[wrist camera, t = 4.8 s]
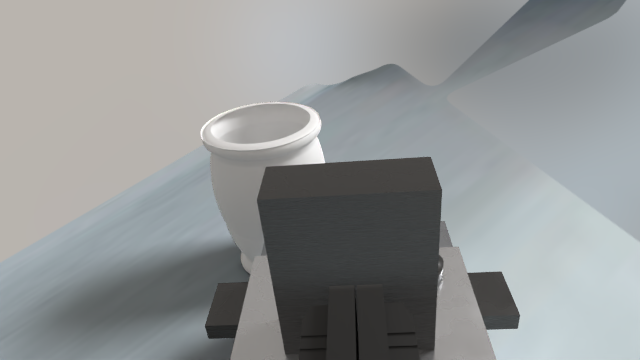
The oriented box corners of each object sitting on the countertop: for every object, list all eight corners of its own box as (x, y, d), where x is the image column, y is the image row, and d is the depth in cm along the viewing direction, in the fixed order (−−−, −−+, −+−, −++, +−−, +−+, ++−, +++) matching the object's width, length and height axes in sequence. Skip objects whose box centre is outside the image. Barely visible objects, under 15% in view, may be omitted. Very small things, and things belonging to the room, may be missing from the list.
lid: (211, 468, 22) (147, 291, 17) (257, 267, 34) (228, 125, 29) (524, 465, 21) (567, 274, 16) (457, 258, 33) (468, 108, 28)
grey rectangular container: (212, 473, 31) (179, 383, 27) (248, 312, 43) (229, 231, 39) (530, 470, 30) (552, 374, 25) (475, 304, 42) (484, 219, 37)
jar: (225, 295, 45) (189, 154, 38) (236, 230, 54) (209, 106, 47) (337, 284, 45) (324, 141, 38) (330, 221, 54) (318, 95, 47)
